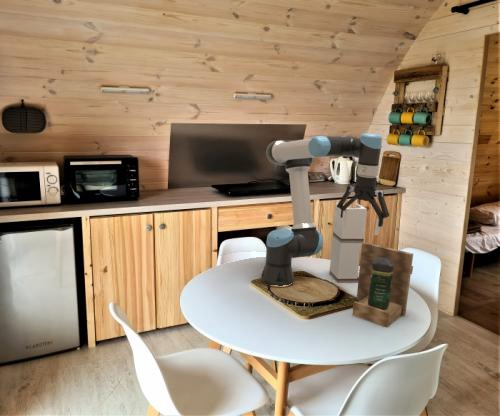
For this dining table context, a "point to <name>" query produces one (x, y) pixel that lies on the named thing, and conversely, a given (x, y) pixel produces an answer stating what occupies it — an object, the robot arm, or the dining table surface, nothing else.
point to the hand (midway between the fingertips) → (359, 230)
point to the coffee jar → (380, 283)
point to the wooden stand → (398, 287)
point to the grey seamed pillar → (347, 244)
